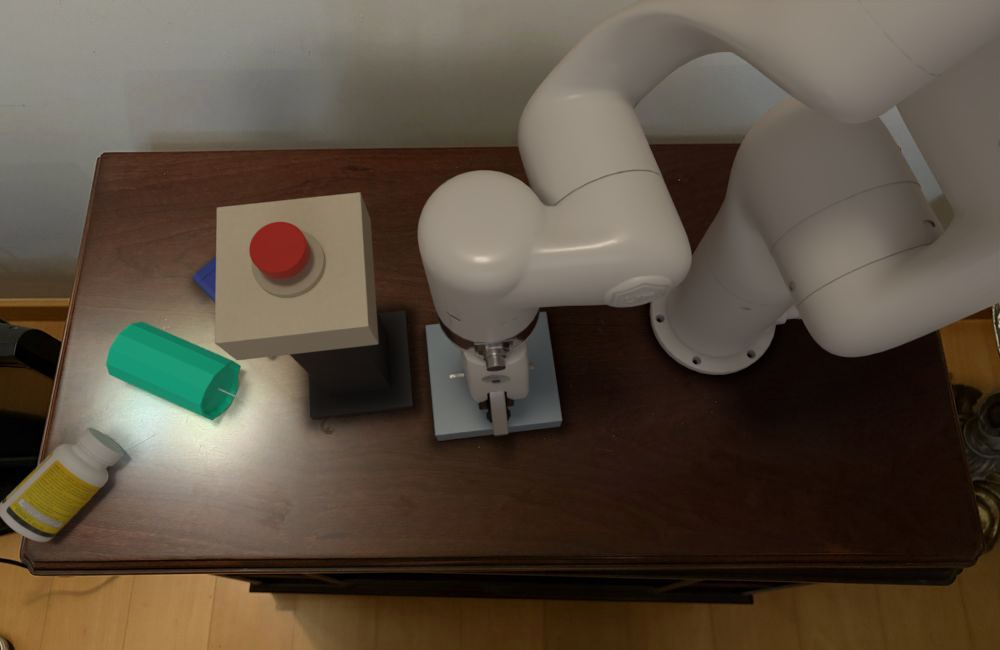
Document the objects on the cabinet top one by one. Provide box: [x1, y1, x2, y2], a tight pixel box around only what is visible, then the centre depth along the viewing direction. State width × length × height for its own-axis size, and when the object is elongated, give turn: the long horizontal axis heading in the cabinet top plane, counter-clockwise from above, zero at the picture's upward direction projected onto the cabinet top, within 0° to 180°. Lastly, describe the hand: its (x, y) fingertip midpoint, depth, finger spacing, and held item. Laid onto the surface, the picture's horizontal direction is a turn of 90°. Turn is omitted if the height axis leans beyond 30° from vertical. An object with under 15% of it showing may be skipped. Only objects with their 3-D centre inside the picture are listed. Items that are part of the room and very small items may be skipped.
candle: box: [105, 321, 242, 421], centre depth 68 cm, size 6×6×12 cm
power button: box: [249, 222, 310, 279], centre depth 45 cm, size 4×4×1 cm
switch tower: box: [214, 191, 415, 421], centre depth 59 cm, size 10×10×26 cm
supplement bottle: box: [0, 427, 124, 543], centre depth 65 cm, size 5×5×10 cm
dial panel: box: [424, 311, 563, 442], centre depth 69 cm, size 12×11×3 cm
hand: (491, 368), depth 67 cm, fingers open, 6 cm apart
